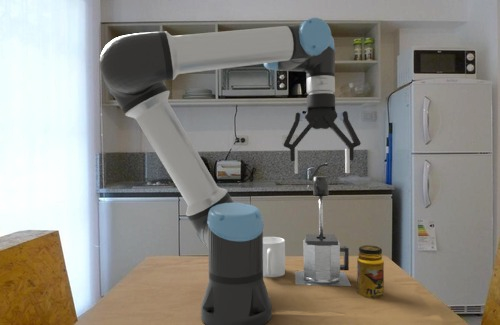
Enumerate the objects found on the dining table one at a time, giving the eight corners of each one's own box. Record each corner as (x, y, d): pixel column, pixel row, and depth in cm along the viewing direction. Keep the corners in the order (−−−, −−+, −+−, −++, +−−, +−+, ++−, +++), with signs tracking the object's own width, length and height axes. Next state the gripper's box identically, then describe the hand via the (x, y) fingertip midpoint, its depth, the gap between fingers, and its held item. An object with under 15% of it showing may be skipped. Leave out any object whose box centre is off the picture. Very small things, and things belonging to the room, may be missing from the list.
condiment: (382, 305, 84) (381, 252, 83) (345, 298, 88) (344, 248, 88) (388, 294, 90) (388, 245, 90) (353, 288, 94) (353, 241, 94)
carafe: (304, 283, 96) (303, 241, 95) (302, 271, 105) (302, 233, 105) (351, 284, 94) (350, 242, 94) (345, 272, 104) (345, 234, 104)
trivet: (295, 287, 95) (295, 284, 95) (295, 273, 106) (295, 271, 106) (351, 289, 94) (351, 285, 94) (344, 274, 105) (344, 272, 105)
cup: (285, 270, 109) (284, 236, 109) (284, 285, 97) (284, 247, 97) (257, 270, 110) (256, 236, 109) (253, 284, 98) (253, 246, 98)
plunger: (308, 249, 96) (307, 177, 96) (307, 243, 104) (306, 176, 103) (336, 250, 96) (336, 177, 95) (333, 243, 103) (332, 176, 102)
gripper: (273, 93, 96) (274, 174, 97) (371, 90, 94) (372, 173, 94) (274, 97, 104) (275, 172, 104) (365, 95, 101) (366, 172, 102)
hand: (321, 173), depth 99 cm, fingers open, 13 cm apart
